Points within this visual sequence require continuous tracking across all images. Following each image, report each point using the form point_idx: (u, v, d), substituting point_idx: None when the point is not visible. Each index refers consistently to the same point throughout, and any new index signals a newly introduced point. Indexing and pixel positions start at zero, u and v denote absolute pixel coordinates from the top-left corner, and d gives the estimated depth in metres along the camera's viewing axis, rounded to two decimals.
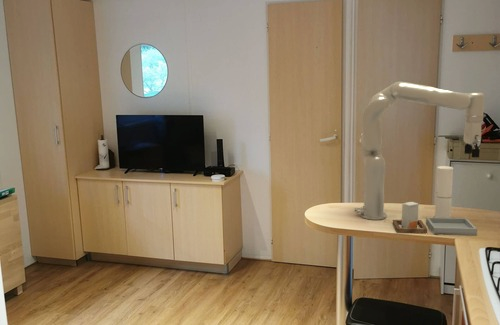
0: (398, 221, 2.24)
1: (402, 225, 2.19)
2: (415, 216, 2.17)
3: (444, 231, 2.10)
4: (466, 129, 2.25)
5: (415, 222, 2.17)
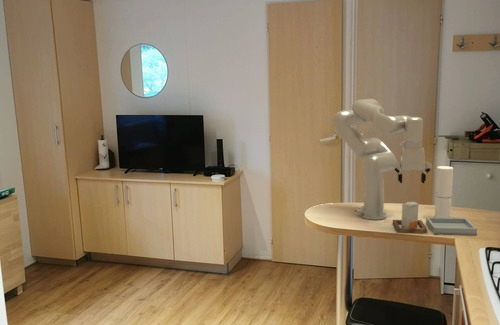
0: (398, 221, 2.24)
1: (402, 225, 2.19)
2: (415, 216, 2.17)
3: (444, 231, 2.10)
4: (412, 156, 2.10)
5: (415, 222, 2.17)
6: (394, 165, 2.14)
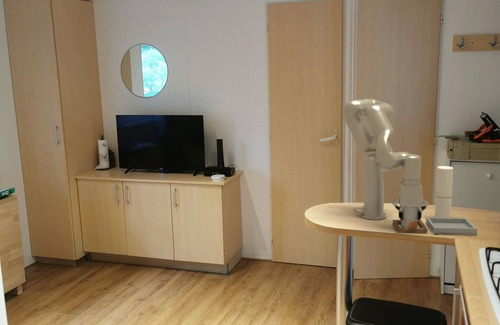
0: (398, 221, 2.24)
1: (402, 225, 2.19)
2: (415, 216, 2.17)
3: (444, 231, 2.10)
4: (410, 193, 2.13)
5: (415, 222, 2.17)
6: (394, 203, 2.17)
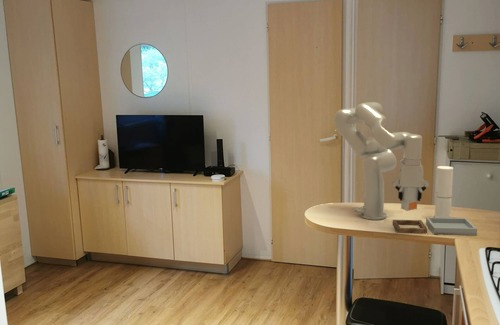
0: (398, 221, 2.24)
1: (402, 206, 2.17)
2: (415, 197, 2.15)
3: (444, 231, 2.10)
4: (410, 173, 2.12)
5: (415, 203, 2.16)
6: (394, 183, 2.16)
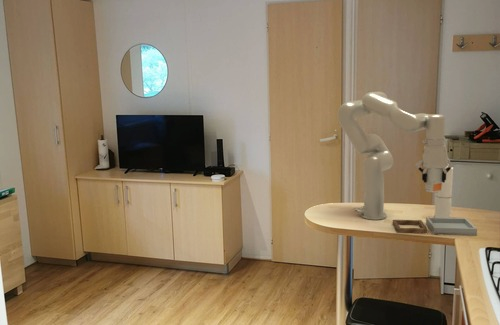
0: (398, 221, 2.24)
1: (426, 188, 2.14)
2: (439, 178, 2.12)
3: (444, 231, 2.10)
4: (434, 154, 2.08)
5: (439, 184, 2.12)
6: (417, 165, 2.13)
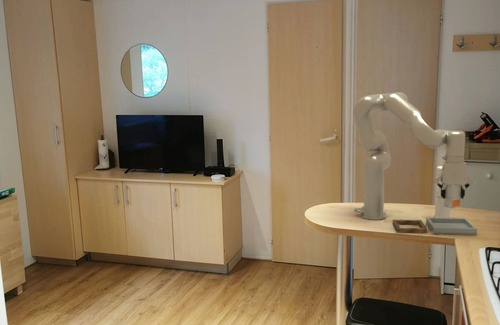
0: (398, 221, 2.24)
1: (445, 203, 2.14)
2: (458, 194, 2.12)
3: (444, 231, 2.10)
4: (453, 171, 2.09)
5: (458, 200, 2.13)
6: (436, 181, 2.13)
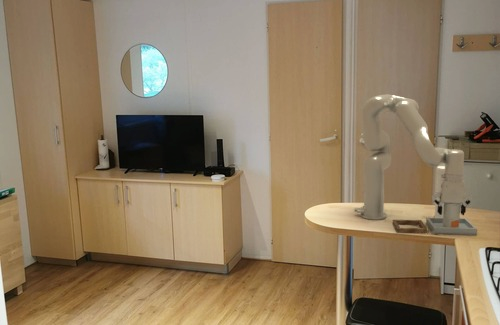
0: (398, 221, 2.24)
1: (443, 224, 2.16)
2: (457, 215, 2.14)
3: (444, 231, 2.10)
4: (452, 189, 2.10)
5: (457, 221, 2.15)
6: (434, 197, 2.14)
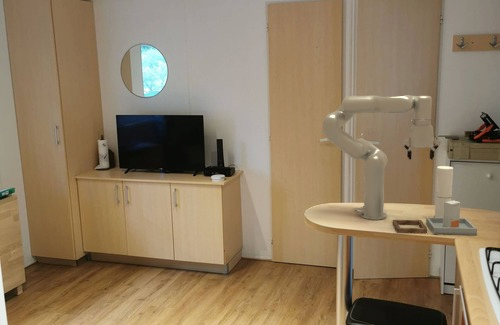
0: (398, 221, 2.24)
1: (443, 224, 2.16)
2: (457, 215, 2.14)
3: (444, 231, 2.10)
4: (421, 133, 2.19)
5: (457, 221, 2.15)
6: (404, 142, 2.23)
